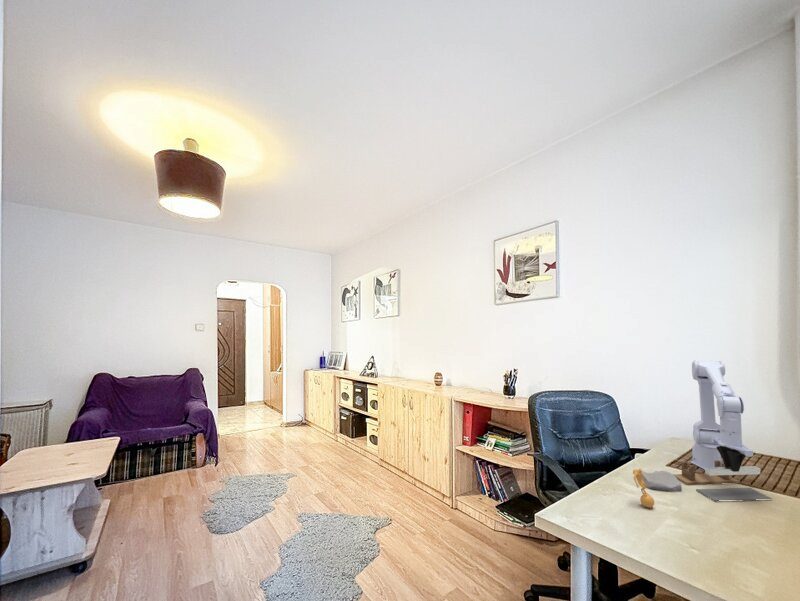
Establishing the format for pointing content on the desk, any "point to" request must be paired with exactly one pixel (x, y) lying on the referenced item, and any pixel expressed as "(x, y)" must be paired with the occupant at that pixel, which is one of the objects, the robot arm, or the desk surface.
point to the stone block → (661, 481)
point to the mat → (732, 494)
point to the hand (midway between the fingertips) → (732, 469)
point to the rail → (727, 471)
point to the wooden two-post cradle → (702, 476)
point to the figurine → (645, 498)
